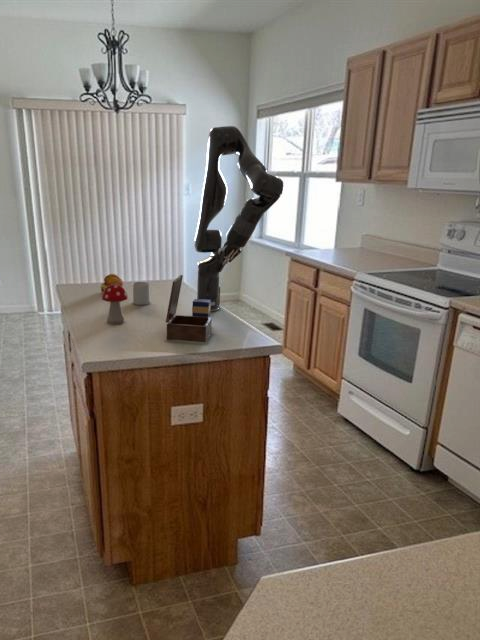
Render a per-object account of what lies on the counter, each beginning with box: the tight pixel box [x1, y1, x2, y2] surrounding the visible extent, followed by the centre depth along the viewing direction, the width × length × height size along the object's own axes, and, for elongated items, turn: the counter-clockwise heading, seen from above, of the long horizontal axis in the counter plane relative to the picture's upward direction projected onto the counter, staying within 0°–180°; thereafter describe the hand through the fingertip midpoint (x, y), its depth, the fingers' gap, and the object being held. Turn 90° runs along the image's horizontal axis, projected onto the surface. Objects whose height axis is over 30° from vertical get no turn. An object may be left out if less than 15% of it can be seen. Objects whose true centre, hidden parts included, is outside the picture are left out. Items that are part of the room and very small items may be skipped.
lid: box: [165, 274, 184, 324], centre depth 187 cm, size 15×13×1 cm
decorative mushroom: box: [101, 284, 129, 325], centre depth 206 cm, size 10×9×15 cm
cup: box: [132, 281, 150, 306], centre depth 238 cm, size 7×10×9 cm
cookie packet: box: [191, 298, 211, 317], centre depth 200 cm, size 6×5×11 cm
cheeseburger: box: [99, 273, 124, 293], centre depth 256 cm, size 10×11×10 cm
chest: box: [166, 314, 213, 343], centre depth 190 cm, size 14×13×6 cm
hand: (217, 270), depth 190 cm, fingers closed
